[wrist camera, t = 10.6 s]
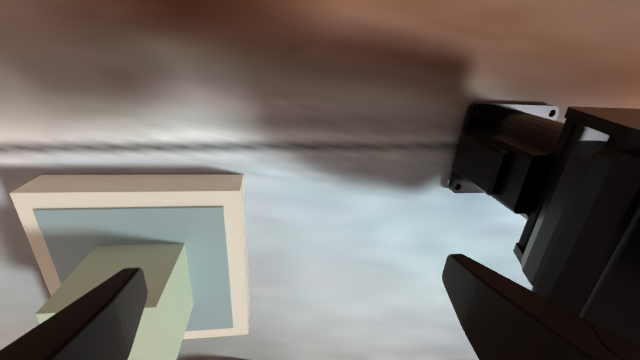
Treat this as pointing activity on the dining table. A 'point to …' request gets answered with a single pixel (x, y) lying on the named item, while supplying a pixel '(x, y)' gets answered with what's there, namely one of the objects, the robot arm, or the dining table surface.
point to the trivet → (148, 232)
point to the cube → (162, 301)
